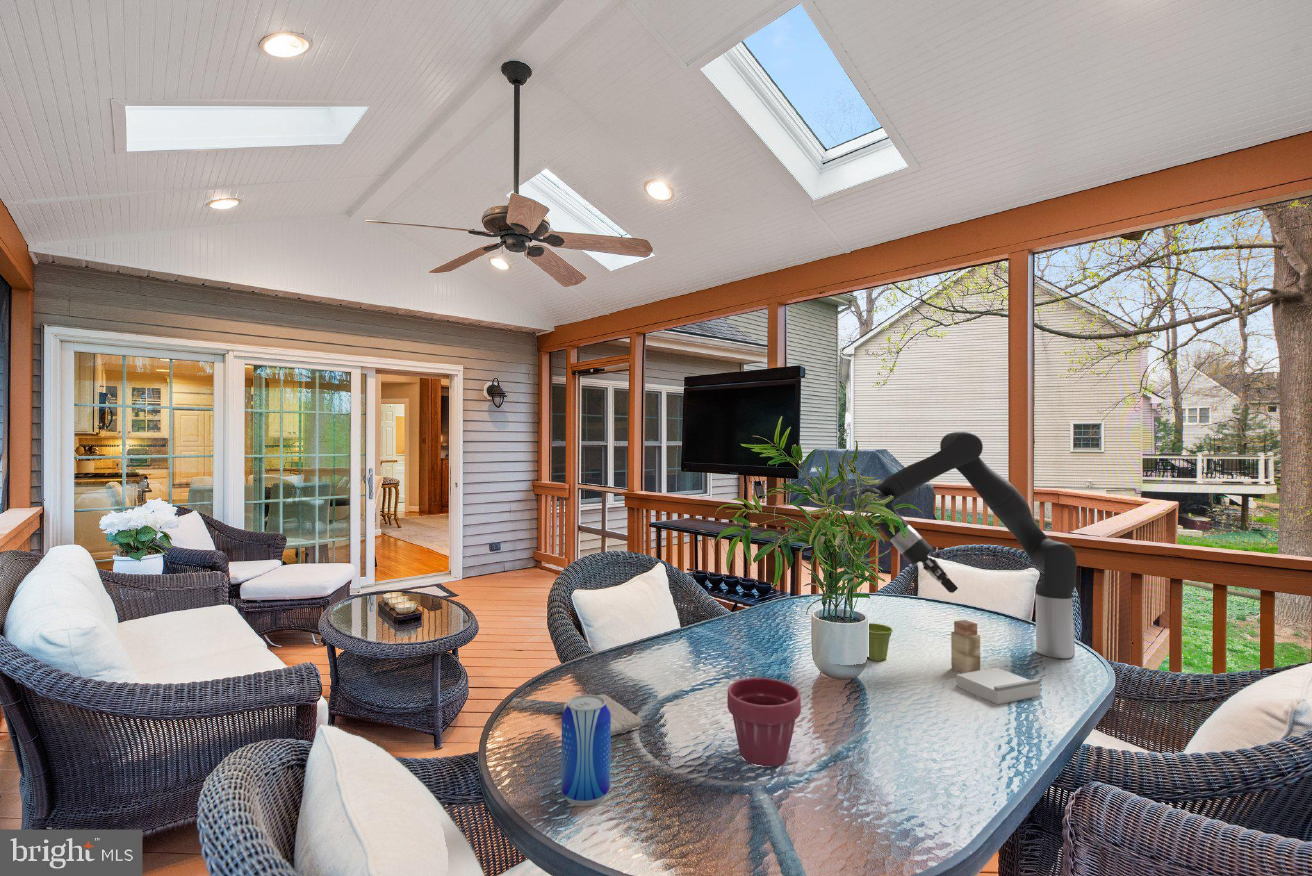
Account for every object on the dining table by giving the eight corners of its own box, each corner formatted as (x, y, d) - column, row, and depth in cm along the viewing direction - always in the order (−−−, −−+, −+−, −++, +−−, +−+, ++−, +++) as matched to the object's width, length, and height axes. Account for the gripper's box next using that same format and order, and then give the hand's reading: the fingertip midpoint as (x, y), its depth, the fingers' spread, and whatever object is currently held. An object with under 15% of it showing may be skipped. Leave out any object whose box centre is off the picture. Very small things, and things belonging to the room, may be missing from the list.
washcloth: (603, 702, 149) (603, 689, 149) (645, 730, 134) (645, 716, 134) (557, 714, 142) (557, 701, 142) (597, 745, 127) (597, 730, 127)
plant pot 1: (785, 783, 112) (785, 711, 113) (714, 762, 120) (715, 694, 120) (810, 750, 124) (810, 685, 125) (745, 733, 132) (745, 672, 132)
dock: (996, 679, 164) (996, 664, 164) (1039, 696, 153) (1039, 680, 153) (956, 686, 159) (956, 671, 159) (997, 704, 148) (997, 688, 148)
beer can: (562, 783, 112) (563, 693, 112) (609, 781, 112) (610, 691, 113) (559, 810, 103) (560, 712, 104) (610, 808, 104) (611, 711, 104)
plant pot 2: (887, 653, 185) (887, 623, 185) (896, 664, 176) (896, 632, 176) (855, 651, 186) (855, 622, 186) (862, 662, 177) (862, 631, 177)
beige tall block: (965, 666, 174) (964, 619, 174) (980, 672, 169) (980, 623, 170) (951, 668, 172) (951, 620, 173) (966, 674, 168) (966, 625, 168)
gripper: (922, 534, 173) (967, 582, 166) (921, 538, 186) (963, 582, 179) (900, 552, 174) (944, 600, 167) (901, 554, 187) (942, 599, 180)
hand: (954, 590), depth 173 cm, fingers open, 8 cm apart
